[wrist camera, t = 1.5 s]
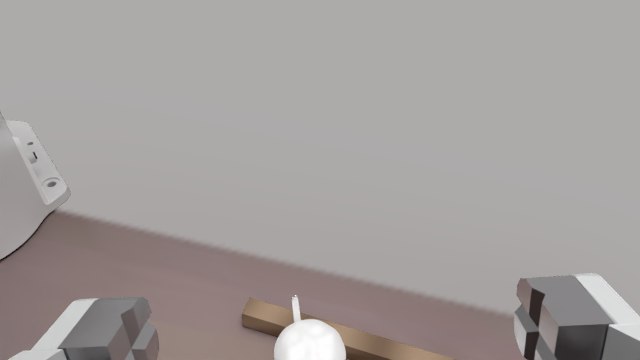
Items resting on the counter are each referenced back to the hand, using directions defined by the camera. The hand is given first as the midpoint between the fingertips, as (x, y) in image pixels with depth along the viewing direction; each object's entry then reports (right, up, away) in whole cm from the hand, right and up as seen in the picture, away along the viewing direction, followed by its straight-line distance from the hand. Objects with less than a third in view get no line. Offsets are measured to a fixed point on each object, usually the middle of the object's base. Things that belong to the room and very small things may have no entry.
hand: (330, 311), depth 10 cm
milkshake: (-2, -14, +24) cm, 28 cm away
